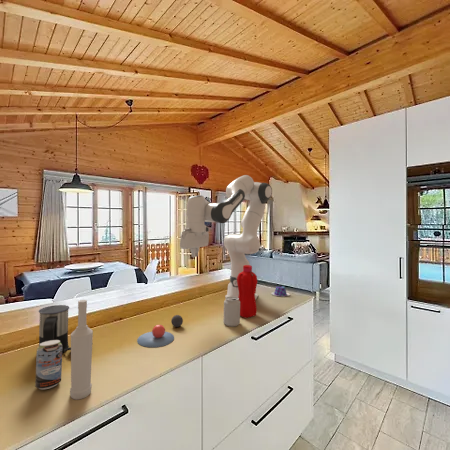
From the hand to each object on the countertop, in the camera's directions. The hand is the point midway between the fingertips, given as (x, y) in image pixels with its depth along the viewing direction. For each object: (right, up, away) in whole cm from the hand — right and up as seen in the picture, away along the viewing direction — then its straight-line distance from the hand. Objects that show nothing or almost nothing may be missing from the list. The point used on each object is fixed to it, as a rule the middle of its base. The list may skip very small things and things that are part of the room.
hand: (194, 256), depth 131 cm
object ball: (-11, -27, -25) cm, 38 cm away
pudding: (+51, -30, +43) cm, 73 cm away
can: (+18, -30, -9) cm, 36 cm away
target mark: (-12, -29, -26) cm, 41 cm away
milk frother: (-41, -29, -37) cm, 62 cm away
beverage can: (-34, -30, -56) cm, 72 cm away
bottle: (-24, -30, -60) cm, 71 cm away
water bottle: (+26, -30, +3) cm, 40 cm away
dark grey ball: (-6, -27, -14) cm, 31 cm away
